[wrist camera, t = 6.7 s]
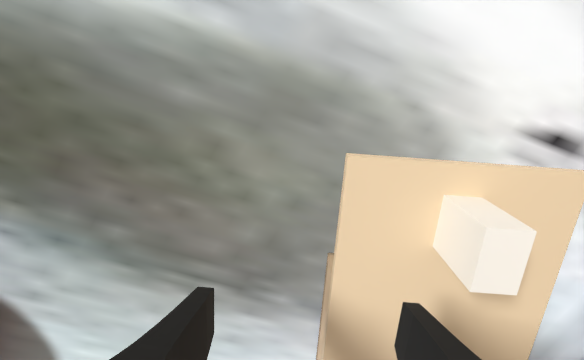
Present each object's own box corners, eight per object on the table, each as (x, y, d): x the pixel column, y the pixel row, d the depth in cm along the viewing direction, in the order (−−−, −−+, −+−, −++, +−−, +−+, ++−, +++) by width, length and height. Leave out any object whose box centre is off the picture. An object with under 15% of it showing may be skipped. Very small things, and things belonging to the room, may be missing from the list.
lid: (510, 383, 21) (566, 463, 16) (320, 369, 21) (325, 445, 16) (583, 170, 17) (685, 201, 12) (346, 153, 17) (362, 177, 12)
